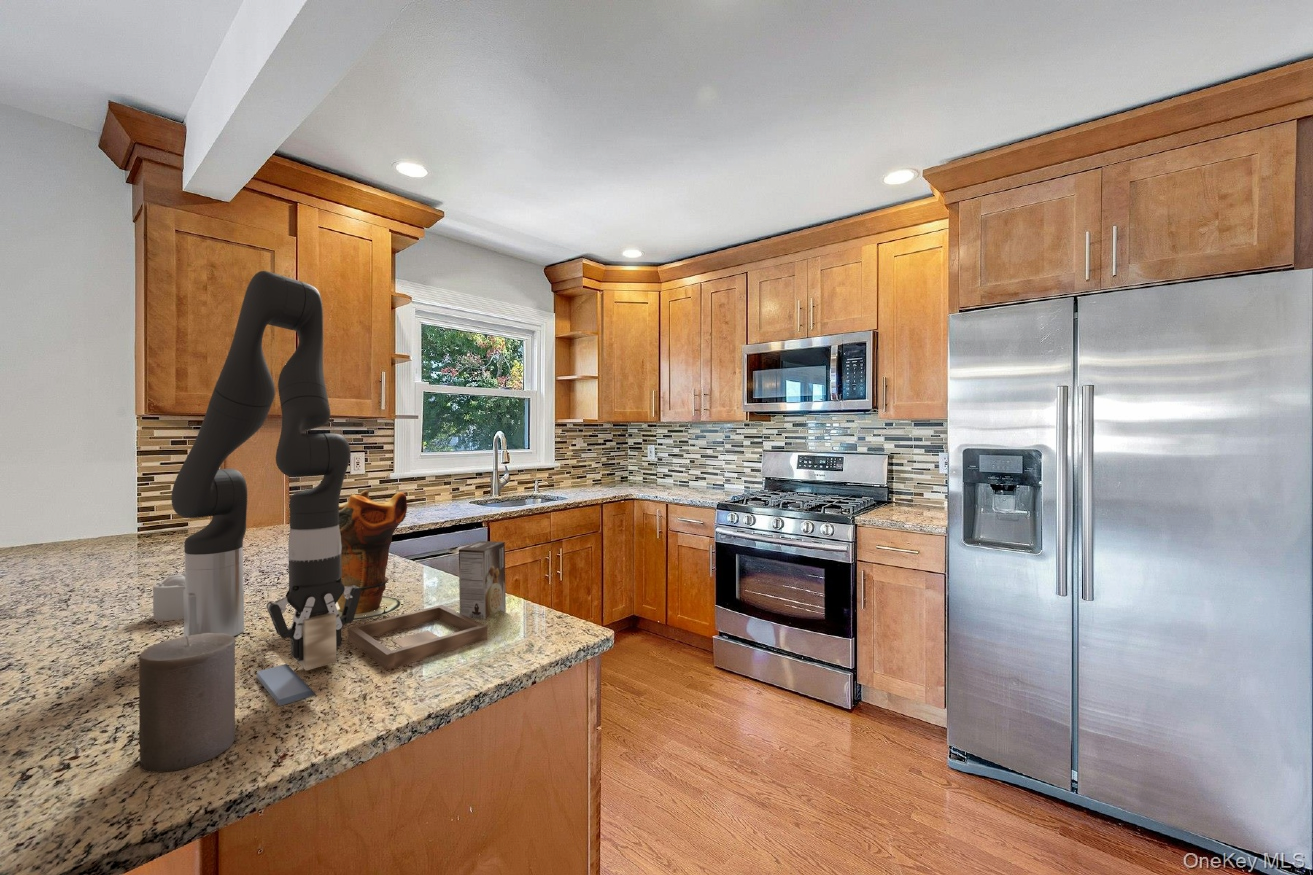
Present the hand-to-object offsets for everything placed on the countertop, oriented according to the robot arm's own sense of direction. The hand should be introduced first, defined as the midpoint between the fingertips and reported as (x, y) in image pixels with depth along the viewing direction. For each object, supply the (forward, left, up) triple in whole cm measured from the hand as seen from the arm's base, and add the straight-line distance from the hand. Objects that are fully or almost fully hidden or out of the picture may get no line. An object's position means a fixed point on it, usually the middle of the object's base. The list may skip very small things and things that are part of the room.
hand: (316, 654), depth 95 cm
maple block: (0, 0, -1) cm, 1 cm away
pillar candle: (-18, -12, -4) cm, 22 cm away
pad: (0, 0, -4) cm, 4 cm away
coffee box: (+34, +6, -4) cm, 35 cm away
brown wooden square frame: (+17, 0, -4) cm, 17 cm away
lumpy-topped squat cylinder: (-9, +58, -4) cm, 59 cm away
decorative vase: (+18, +32, -4) cm, 37 cm away
